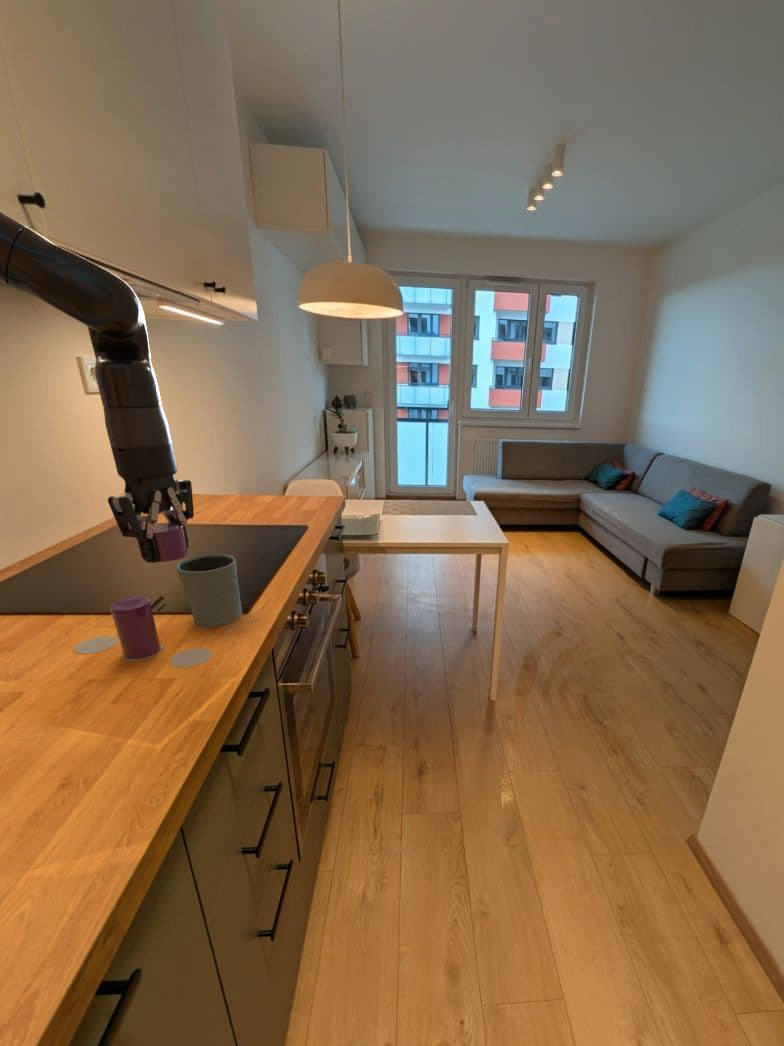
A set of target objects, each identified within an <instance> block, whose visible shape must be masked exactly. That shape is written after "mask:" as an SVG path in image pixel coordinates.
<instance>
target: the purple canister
mask: <svg viewBox="0 0 784 1046" xmlns="http://www.w3.org/2000/svg"><path fill="white" fill-rule="evenodd" d="M142 530H145V526H143V528H142ZM153 538H155V539H156V543H157V547H158V552H159V556H160V561H158V562H157V563H166V562H167V563H168V562H173V561H177V560H181V559H183V558H186V557H187V556H188V555H189V553H188V551H189V550H188V548H187V546H186V541H185V537H184V532H183V527H182V525H181V524H178V523H168V522H162V523H155V525H154V535H153Z"/></svg>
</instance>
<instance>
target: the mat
mask: <svg viewBox="0 0 784 1046" xmlns="http://www.w3.org/2000/svg"><path fill="white" fill-rule="evenodd" d="M118 640H119V639H118V638H116V637H115V636H109V635H105V636H97V637H92V638H89V639H85V640H84V641H81V642H80V643H78V644H77V645H75V647H73V651H74V653H76V654H78V655H92V654H97V653H100V652H104V651H106V650H110V649H111V648H113V647H114V646H115V645H117V643H118ZM160 645H161V649H160V650H159V651H158V652H157V653H155V654H153V655H151V656H149V657H145V658H140V659H128V658H126V657H124V654H123V651H122V652H121V654H120V657H121V659H122V660H124V661H127V662H128V661H129V662H136V661H137V662H138V661H143V660H147V659H150V658H153V657H155V656H157V655H159V654H160V653H162V651H163V650H164V644H163V643H161V642H160ZM212 655H213V652H212V651H211V650H210V649H208V648H204V647H194V648H188V649H185V650H182V651H180V652H178V653H176V654H174V655H173V656H172V657H171V658H170V659H169V664H170V666H172V667H175V668H179V669H181V668H182V669H184V668H185V669H187V668H192V667H196V666H200V665H201V664H204V663H205V662H207V661H209V660H210V659H211V658H212Z"/></svg>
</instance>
